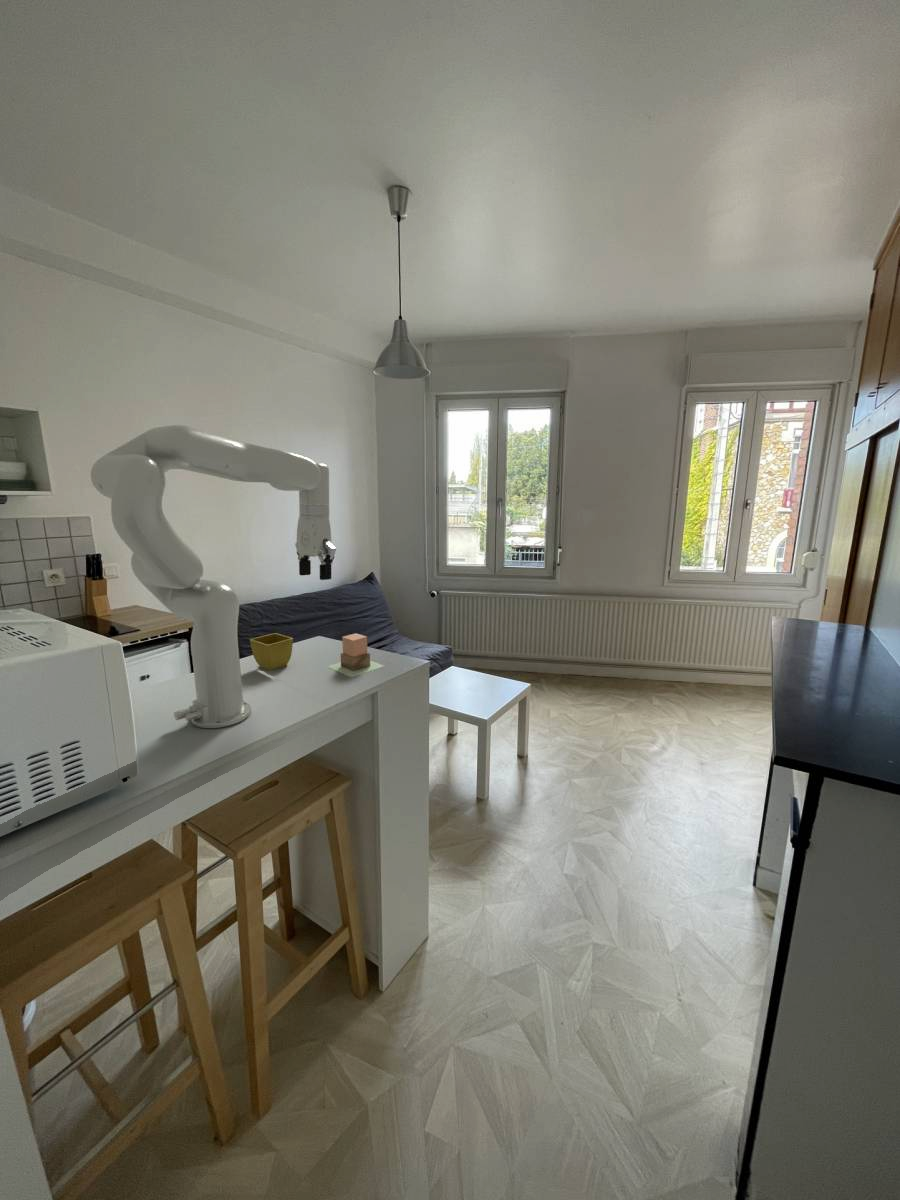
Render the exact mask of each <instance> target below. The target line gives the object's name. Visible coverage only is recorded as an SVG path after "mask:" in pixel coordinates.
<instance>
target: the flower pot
mask: <svg viewBox="0 0 900 1200" xmlns="http://www.w3.org/2000/svg"><path fill="white" fill-rule="evenodd" d="M293 642H294V638H293V637H290V636H286V635H284V634H280V633H278V632H276V633H275V632H274V633H270V634H266V635H265V634H264V635H262V636H258V637H254V638H251V639H249V643H250V648H251V651H252V655H253V656H252V657H253V658H254V660H255V662H256V663H257V665H258V667H260V668H263V669H266V670H268V671H272V670H277V669H278V668H282V667H286V666H287V665H288V664H289V662H290V661H291V658H292V657H291V656H292V653H293Z"/></svg>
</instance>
